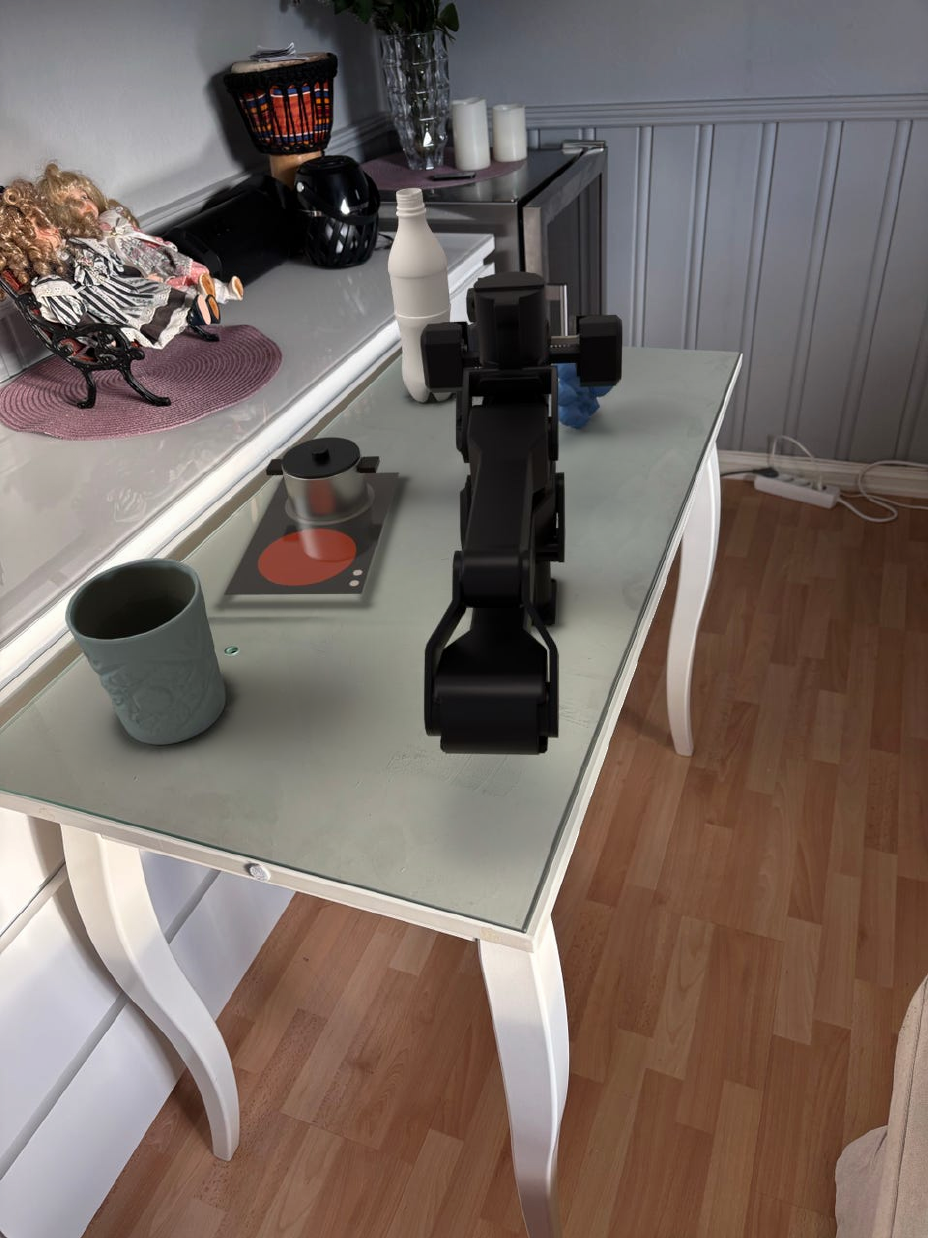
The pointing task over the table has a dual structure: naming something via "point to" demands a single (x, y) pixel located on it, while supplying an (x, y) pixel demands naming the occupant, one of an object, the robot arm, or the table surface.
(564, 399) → the grapes
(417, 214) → the water bottle
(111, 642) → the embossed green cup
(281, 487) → the hob
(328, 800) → the table surface
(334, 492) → the pot
